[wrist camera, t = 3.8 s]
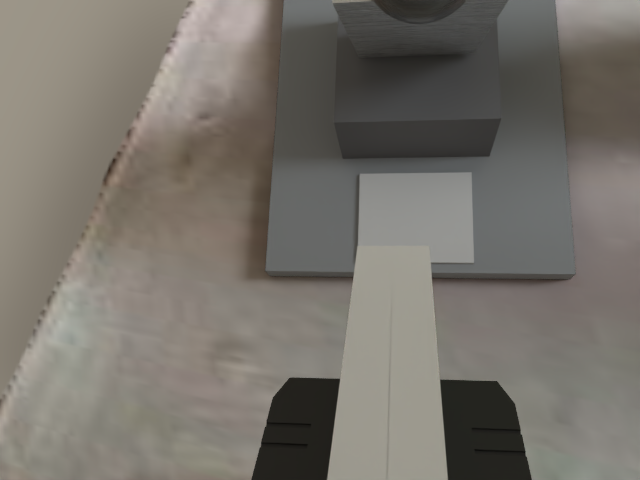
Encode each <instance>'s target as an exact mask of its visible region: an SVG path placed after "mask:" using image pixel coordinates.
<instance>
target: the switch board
mask: <svg viewBox="0 0 640 480" xmlns="http://www.w3.org/2000/svg"><path fill="white" fill-rule="evenodd" d="M357 246H429V248H430V261H431V273H432V278H496V279H571V278H572V277H573V276H574V275H575V274H576V272H575V259H574V246H573V232H572V219H571V205H570V192H569V179H568V165H567V152H566V138H565V125H564V112H563V98H562V85H561V71H560V58H559V45H558V31H557V18H556V4H555V0H509V1H508V2H507V4H506V5H505V7H504V8H503V10H502V12H501V13H500V15H499V16H498V18H497V19H496V21H495V22H494V24H493V25H492V27H491V28H490V30H489V31H488V33H487V35H486V36H485V38H484V39H483V41H482V42H481V44H480V45H479V47H478V48H477V50H476V51H475V53H466V54H441V55H415V56H390V57H364V58H359V56H358V54H357V52H356V50H355V48H354V46H353V44H352V42H351V40H350V38H349V36H348V34H347V32H346V30H345V28H344V26H343V24H342V22H341V20H340V18H339V16H338V14H337V12H336V10H335V8H334V6H333V4H332V0H284V5H283V20H282V34H281V49H280V63H279V78H278V93H277V107H276V122H275V136H274V151H273V166H272V180H271V195H270V209H269V224H268V239H267V253H266V268H265V271H266V272H267V273H268V274H269V275H270V276H320V277H354V269H355V262H356V254H357Z"/></svg>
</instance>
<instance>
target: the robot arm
mask: <svg viewBox="0 0 640 480" xmlns="http://www.w3.org/2000/svg"><path fill="white" fill-rule="evenodd" d="M252 480H532V479H531V474H530V470H529V465H528V461H527V457H526V456H525V447H524V443H523V439H522V435H521V433H520V425H519V421H518V416H517V412H516V407H515V404H514V402H513V401H512V400H511V398H510V397H509V396H508V395H507V393H506V392H505V391H504V390H503V388H502V387H501V386H500V385H499V383H498V382H497V381H466V380H440V374H439V362H438V349H437V336H436V324H435V311H434V298H433V286H432V273H431V261H430V248H429V246H357V254H356V262H355V269H354V277H353V285H352V292H351V300H350V308H349V315H348V323H347V331H346V338H345V346H344V354H343V361H342V369H341V377H340V379H322V378H289V379H288V380H287V382H286V383H285V384H284V385H283V386H282V388H281V389H280V390H279V391H278V392H277V394H276V395H275V396H274V397H273V399H272V403H271V407H270V411H269V415H268V419H267V426H266V427H265V430H264V434H263V438H262V442H261V447H260V449H259V453H258V457H257V461H256V464H255V468H254V472H253V476H252Z"/></svg>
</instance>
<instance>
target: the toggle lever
mask: <svg viewBox="0 0 640 480" xmlns="http://www.w3.org/2000/svg"><path fill="white" fill-rule="evenodd" d="M508 1H509V0H332V4H333V6H334V8H335V10H336V12H337V14H338V16H339V18H340V20H341V22H342V24H343V26H344V28H345V30H346V32H347V34H348V36H349V38H350V40H351V42H352V44H353V46H354V48H355V50H356V52H357V54H358V56H359V58H364V57H390V56H415V55H441V54H466V53H475V51H476V50H477V48H478V47H479V45H480V44H481V42H482V41H483V39H484V38H485V36H486V35H487V33H488V31H489V30H490V28H491V27H492V25H493V24H494V22H495V21H496V19H497V18H498V16H499V15H500V13H501V12H502V10H503V8H504V7H505V5H506V4H507V2H508Z"/></svg>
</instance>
